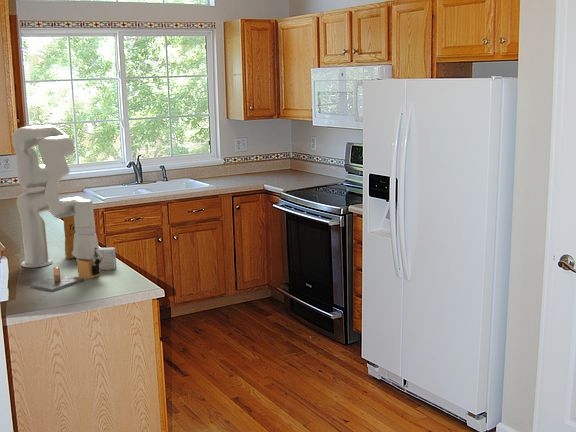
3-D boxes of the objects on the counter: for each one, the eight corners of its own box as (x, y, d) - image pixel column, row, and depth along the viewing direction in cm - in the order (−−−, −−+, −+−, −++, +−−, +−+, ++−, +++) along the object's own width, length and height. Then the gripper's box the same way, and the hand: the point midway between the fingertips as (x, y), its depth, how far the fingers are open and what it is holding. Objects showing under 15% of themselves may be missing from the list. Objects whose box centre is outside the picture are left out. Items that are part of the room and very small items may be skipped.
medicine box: (116, 267, 294) (115, 247, 292) (114, 270, 290) (113, 249, 288) (97, 267, 294) (96, 247, 292) (95, 270, 289) (93, 250, 288)
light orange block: (78, 277, 280) (77, 260, 279) (89, 273, 285) (87, 257, 283) (89, 278, 277) (87, 261, 276) (99, 275, 282) (97, 258, 281)
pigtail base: (30, 287, 268) (29, 271, 266) (63, 276, 281) (61, 261, 280) (52, 291, 262) (50, 274, 260) (84, 280, 275) (83, 264, 274)
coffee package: (95, 258, 310) (91, 209, 306) (65, 261, 306) (61, 211, 302) (93, 253, 319) (90, 205, 315) (65, 255, 315) (61, 207, 311)
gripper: (62, 230, 278) (66, 273, 282) (94, 234, 270) (98, 278, 273) (76, 226, 285) (80, 268, 288) (108, 230, 276) (111, 273, 280)
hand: (88, 273), depth 281 cm, fingers open, 7 cm apart
